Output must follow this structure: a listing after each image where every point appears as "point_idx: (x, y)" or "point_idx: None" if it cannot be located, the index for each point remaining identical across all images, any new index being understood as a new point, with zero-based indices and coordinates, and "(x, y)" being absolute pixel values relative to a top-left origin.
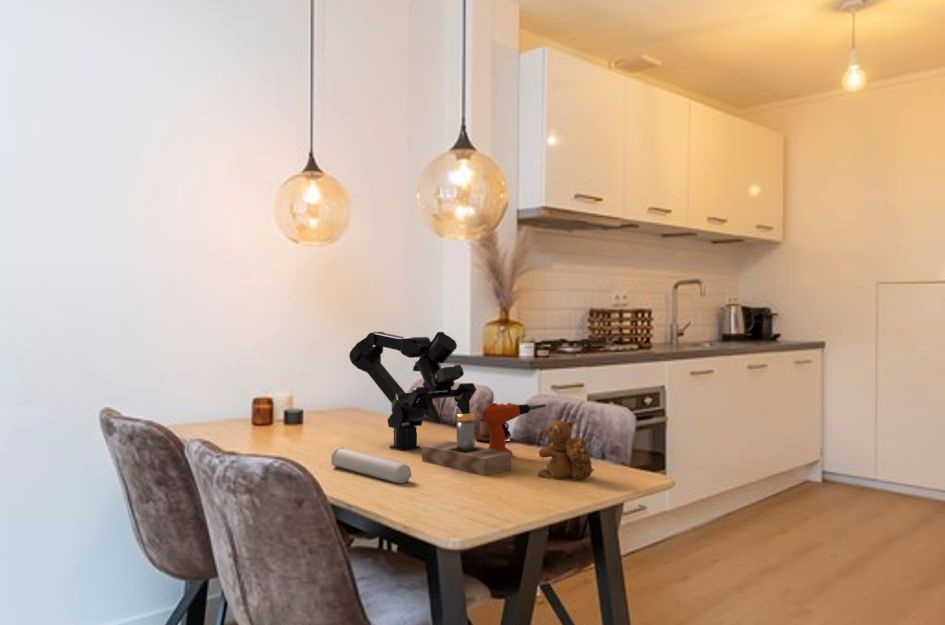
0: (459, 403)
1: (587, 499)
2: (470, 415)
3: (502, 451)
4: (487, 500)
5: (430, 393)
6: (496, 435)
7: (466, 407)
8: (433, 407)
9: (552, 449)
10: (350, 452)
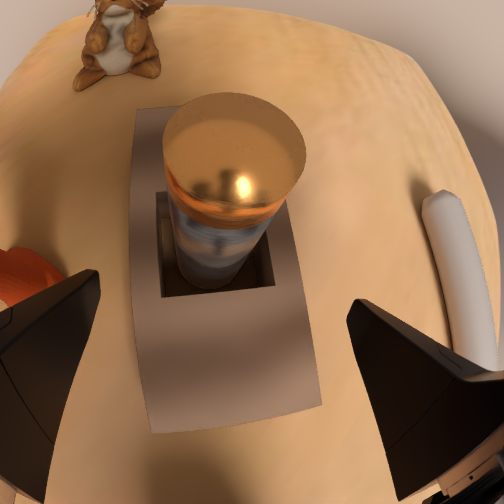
0: (28, 461)
1: (223, 10)
2: (246, 95)
3: (136, 135)
4: (342, 66)
5: (491, 500)
6: (8, 257)
7: (49, 308)
8: (439, 352)
9: (143, 19)
10: (498, 363)
